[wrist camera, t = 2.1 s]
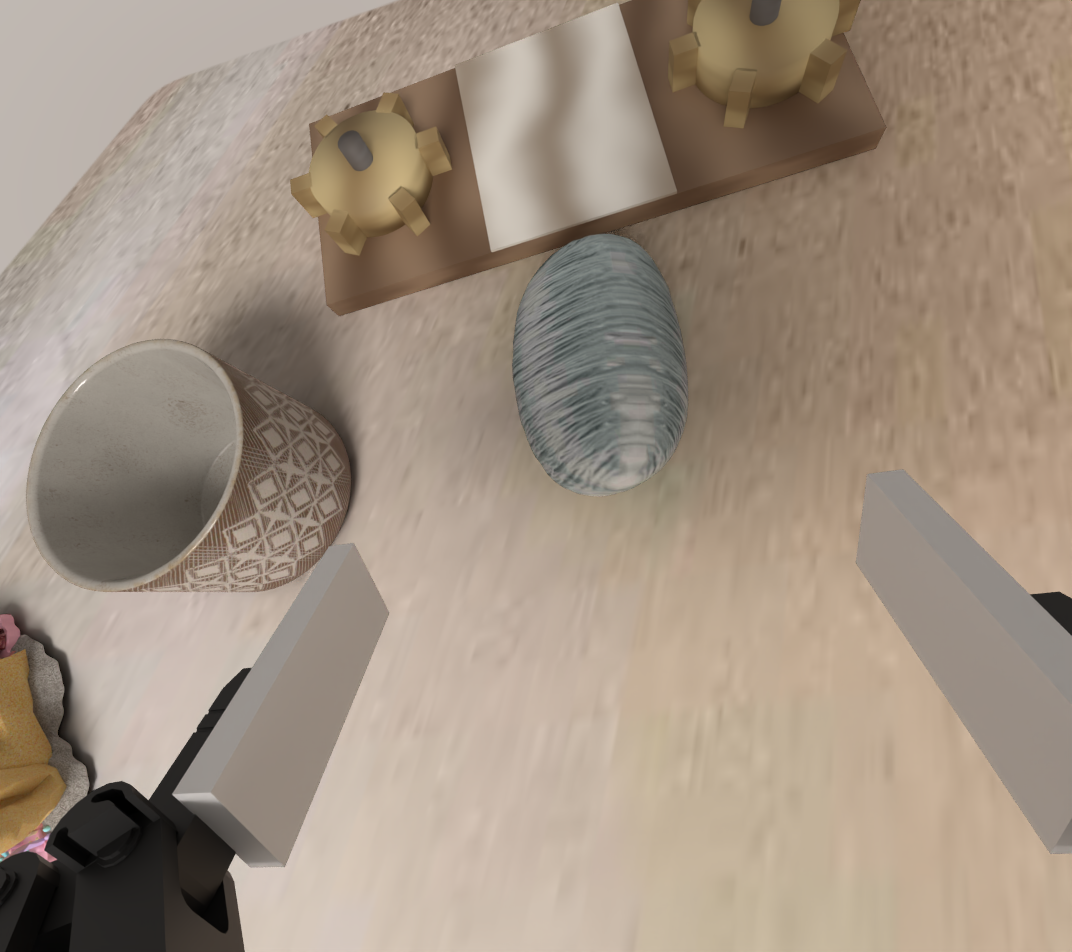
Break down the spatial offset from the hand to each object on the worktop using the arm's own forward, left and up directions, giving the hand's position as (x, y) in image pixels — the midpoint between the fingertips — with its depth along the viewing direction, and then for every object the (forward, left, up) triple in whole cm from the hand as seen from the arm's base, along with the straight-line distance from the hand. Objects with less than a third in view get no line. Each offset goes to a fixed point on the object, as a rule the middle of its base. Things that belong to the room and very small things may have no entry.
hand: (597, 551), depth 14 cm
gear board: (-2, -30, -16) cm, 34 cm away
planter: (+22, -10, -16) cm, 29 cm away
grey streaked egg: (-1, -11, -16) cm, 20 cm away
